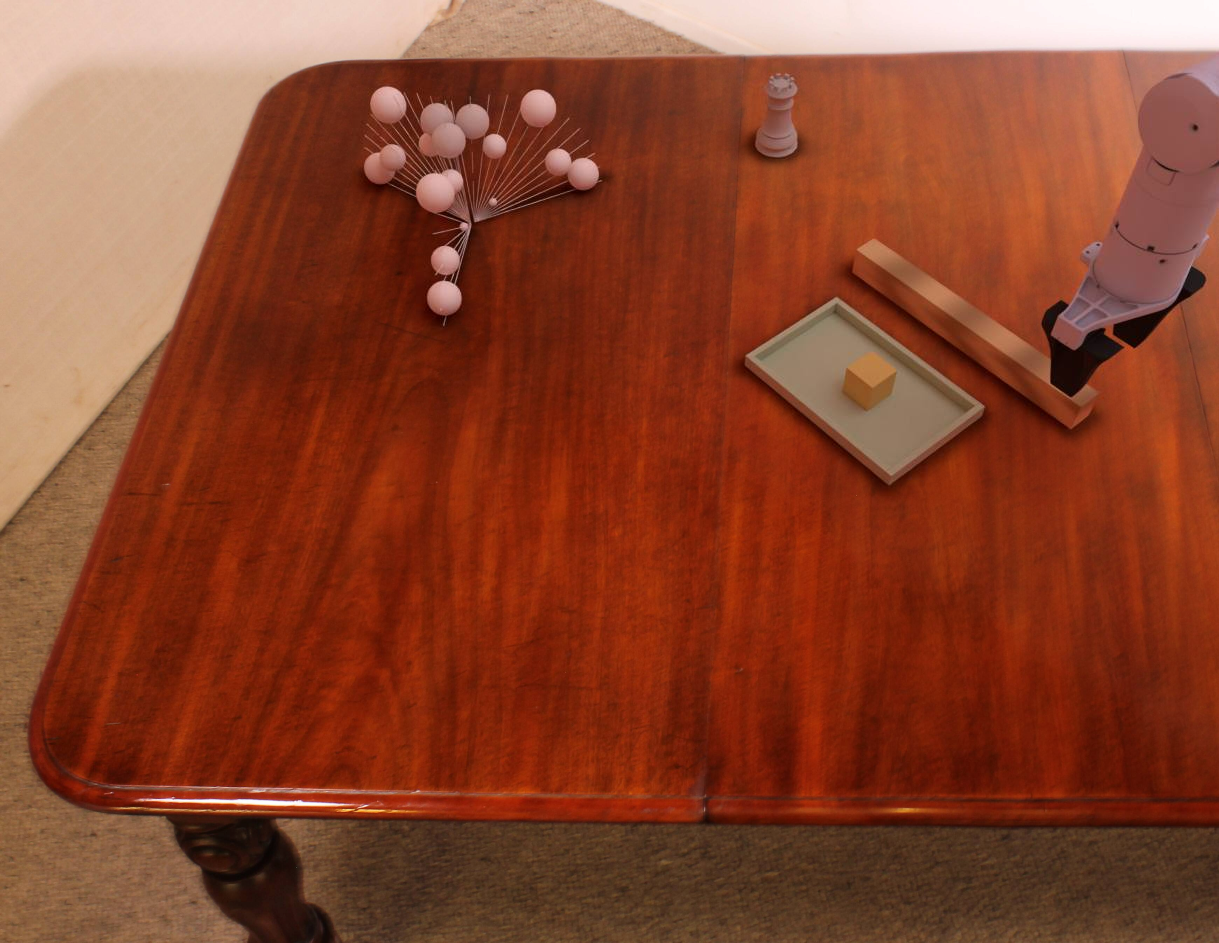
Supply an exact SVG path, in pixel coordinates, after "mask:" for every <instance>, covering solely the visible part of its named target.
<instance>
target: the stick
mask: <svg viewBox="0 0 1219 943" xmlns="http://www.w3.org/2000/svg"><path fill="white" fill-rule="evenodd" d="M853 258H854V259H853V266H852V270H851V273H852V274H854V275H855V276H856V277H858V278H859V279H860V280H862V281H863V282H865V283H866V284H867V285H869V286H870V287H872V288H873V289H874V290H876V291H877V292H879V293H880V294H881V295H883V296H884V297H885V298H887V299H888V300H890V301H891V302H892V303H894V304H895V305H897V306H898V307H899V308H901V309H902V310H904V311H905V312H906V313H908V314H909V315H911V316H912V317H913V318H915V319H916V320H917V321H919V322H921V323H922V324H924V325H925V326H926V327H927V328H929V329H930V330H931V331H933V332H934V333H935V334H937V335H938V336H940V337H941V338H942V339H944V340H945V341H947V342H948V343H950V344H951V345H952V346H954V347H955V348H957V349H958V350H959V351H961V352H962V353H964V354H965V355H967V356H968V357H969V358H971V359H972V360H973V361H975V362H977V364H978V365H980V366H982V367H983V368H984V369H986V370H987V371H989V372H990V373H992V374H993V375H995V377H997V378H998V379H1000V380H1001V381H1003V382H1004V383H1005V384H1007V385H1008V386H1009V387H1011V388H1012V389H1014V390H1015V391H1017V392H1018V393H1019V394H1021V395H1022V396H1024V397H1025V398H1026V399H1028V400H1029V401H1031V402H1032V403H1033V404H1035V405H1036V406H1037V407H1039V408H1040V409H1041V410H1043V411H1045V413H1047V414H1049V415H1050V416H1051V417H1053V418H1054V419H1055V420H1057V421H1058V422H1060V423H1061V424H1063V425H1064V426H1065V427H1067V428H1068V429H1069V430H1072V429H1074V427H1076V426H1077V425H1078V424H1080V423H1081V422H1082V421H1083V420H1084V419H1086V418H1087V417H1088V416H1089V415H1090V413H1091V411H1092V410H1093V407H1094V405H1095V403H1096V401H1097V399H1098V396H1099V395H1100V391H1098V390H1097V389H1095V388H1094V387H1092V386H1091V385H1089V384H1088V383H1086V385H1085V386H1084V387H1083V388H1082V389H1081V390H1080V391H1079V392H1078V393H1077V394H1075V395H1074V396H1073V397H1069V396H1067V395H1066V394H1065V393H1063V392H1062V391H1060V390H1059V389H1057V388H1056V387H1055V386H1053V385H1052V384H1050V367H1051V357H1050V358H1049V357H1048V356H1046V355H1045V354H1044V353H1042V352H1041V351H1039V350H1038V349H1037V348H1035V347H1034V346H1032V345H1031V344H1029V343H1028V342H1026V341H1025V340H1023V339H1022V338H1021V337H1019V336H1018V335H1016V334H1015V333H1014V332H1012V331H1010V330H1009V329H1007V328H1006V327H1005V326H1003V325H1001V324H1000V323H999V322H997V321H996V320H994V319H993V318H992V317H990V316H989V315H987V314H985V313H984V312H983V311H981V310H980V309H978V308H977V307H976V306H974V305H972V304H971V303H970V302H968V301H967V300H966V299H963V298H962V297H961V296H960V295H958V294H956V293H955V292H954V291H952V290H951V289H949V288H948V287H946V286H944V285H943V284H941V282H939V281H937V280H936V279H935V278H933V277H931V276H930V275H929V274H928V273H926V272H924V271H923V270H922V269H920V268H918V267H917V266H915V265H914V264H913V263H911V262H910V261H908V260H907V259H905V258H904V257H903V256H901V255H900V254H898V253H897V252H896V251H894V250H893V249H891V248H889V247H888V246H886V245H885V244H884V243H882V242H881V241H879V240H878V239H876V238H871V239H870V240H868V241H867V242H865V243H864V244H862V245H860V246H859V247H857V248H856V249H855V253H854V257H853Z"/></svg>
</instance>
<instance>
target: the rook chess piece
mask: <svg viewBox="0 0 1219 943" xmlns="http://www.w3.org/2000/svg"><path fill="white" fill-rule="evenodd" d="M768 79H769V80H768V83H766V84H765V86H764V91H765V94H766V95H767V96H768V97H767V98H766V100H765V104H766V106H767V110H766V115H765V119H764V121H763V122H762V123H761V126H760V127H759V128H758V129H757V131H756V135H755V138H756V139H755V143H754V146H755V148H756V150H757V151H758V152H759V153H760V154H762V155H763V156H766V157H768V158H772V159H773V158H776V159H779V158H786V157H788V156H789V155H791V154H792V153H794V152H795V150H796V149H797V148H798V132H797V130H796V128H795V125H794V123H793V121H792V107H793V105H794V99H793V97H794V96H795V95H796V94H797V92H798V86H797V85H796V83H795V78H794V76H792V77H790V74H788V73H784V76H783V77H782V74H781V73H780V72H779V73H775V76H773V75H771V76H770V77H769V78H768Z"/></svg>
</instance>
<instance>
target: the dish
mask: <svg viewBox="0 0 1219 943" xmlns="http://www.w3.org/2000/svg"><path fill="white" fill-rule="evenodd" d="M871 351H872V352H874V353H875V354H876V355H878V356H879V357H880V358H882V359H883V360H884V361H886V362H887V363H888V364H889V365H891V366H892V367H893V368H895V369H896V370H897V374H896V379H895V383H894V387H893V391H892V394H891V395H889V396H888V397H886V398H885V399H884V400H882V401H881V402H879V403H878V404H877V405H875V406H874V407H872V408H871V409H869V410H868V411H867V410H866V409H865V408H863V407H862V406H861V405H859V404H858V403H857V402H856V401H854V400H853V399H852V398H851V397H849V396H848V395H847V394H846V393H844V392H843V391H842V390H843V385H844V379H845V374H846V369H847V367H848V366H850V365H851V364H853V363H854V362H856V361H857V360H859V359H860V358H862V357H863V356H865V355H866V354H868V353H869V352H871ZM744 366H745V367H746V368H747V369H748V370H749V371H751V372H752V373H753V374H754V375H756V377H758V378H759V379H761V380H762V381H763V382H764V383H765V384H766V385H767V386H768V387H770V388H771V389H772V390H774V391H775V392H776V393H777V394H778V395H780V396H781V397H782V398H783V399H784V400H786V401H787V402H788V403H789V404H791V405H792V407H794V408H795V409H796V410H798V411H799V412H800V413H801V414H802V415H804V416H805V417H806V418H807V419H809V421H811V422H812V423H813V424H814V425H815V426H817V427H818V428H819V429H820V430H822V431H823V432H824V433H825V434H826V435H828V436H829V437H830V438H831V439H832V440H834V441H835V442H836V443H837V444H838V445H840V447H842V448H843V449H844V450H845V451H847V452H848V453H849V454H851V456H853V457H854V458H855V459H856V460H858V462H860V463H861V464H863V466H865V467H866V468H867V469H869V471H871V472H872V473H873V474H874V475H875V476H877V477H878V478H879V479H881V480H882V481H883V482H884V483H885V484H886V485H887V486H890V485H892V484H893V483H894V482H896V481H897V480H899V478H901V477H902V476H904V475H905V474H906V473H907V472H909V471H910V470H912V469H913V468H915V467H916V466H917V465H918V464H920V463H921V462H922V461H924V460H925V459H927V457H929V456H931V455H932V454H933V453H934V452H936V451H937V450H939V449H940V448H941V447H943V446H944V445H945V444H947V443H948V442H949V441H951V440H953V438H954V437H956V436H958V435H959V434H960V433H961V432H963V431H964V430H965V429H966V428H968V427H969V426H971V425H972V424H974V423H975V422H976V421H977V420H979V419H980V418H981V417H982V416H983V414H984V411H985V408H986V406H985V405H983V404H982V403H981V402H979V401H978V400H977V399H976V398H975V397H973V396H971V395H970V394H969V393H967V392H966V391H965V390H964V389H962V388H961V387H959V386H958V385H957V384H955V383H954V382H953V381H951V380H950V379H948V378H947V377H946V376H945V375H943V374H942V373H941V372H939V371H938V370H937V369H935V368H934V367H932V366H931V365H930V364H929V363H927V362H926V361H924V360H923V359H922V358H920V357H919V356H917V354H915V353H914V352H912V351H911V350H910V349H908V348H907V347H905V346H904V345H903V344H901V343H900V342H898V341H897V340H896V339H895V338H893V337H892V336H891V335H889V334H888V333H887V332H886V331H884V330H882V329H881V328H880V327H878V326H877V325H876V324H874V323H873V322H871V320H869V319H867V318H866V317H865V316H864V315H862V314H860V313H859V312H858V311H857V310H856V309H854V307H851V306H850V305H849V304H847V303H846V302H845V301H843V300H842V299H841V298H839V297H838V296H835V297H834V298H832V299H831V300H828V302H826V303H824V304H823V305H821V306H819V307H818V308H816V309H815V310H814V311H812V312H810V313H809V314H808V315H806V316H805V317H803V318H801V319H800V320H797V322H795V323H794V324H791V326H789V327H788V328H786V329H785V330H783V331H782V332H780V333H778V334H777V335H775V336H774V337H772V338H770V339H769V340H767V341H766V342H764V343H763V344H761V345H759V346H758V347H756V348H754V349H753V350H752V351H750V352H749V353H747V354H745V357H744Z"/></svg>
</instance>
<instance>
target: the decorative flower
mask: <svg viewBox="0 0 1219 943" xmlns="http://www.w3.org/2000/svg"><path fill="white" fill-rule="evenodd" d="M403 94H404V95H403ZM416 95H417V98H418V101H419V103H420V106H421V108H422V112H421V114H420V120H419V118H418V117H417V114H416V113H415V111H414V109H413V107H412V105H411V103H410V101H409V99H408V97H407V94H406V93H405V92H403V93H402V92H401V91H400V90H399V89H397V88H395V87H392V86H381V87H380V88H378V89H377V90H375V91H374V92H373V94H372V96H371V98H370V101H369V102H370V103H369V104H370V105H369V106H370V111H371V114H372V115H371V117H372V118H373V119H374V120H375V121H376V122H377V123H378V124H379V125H380V126H382V124H381V123H383V124H388V125H390V126H391V127H392V128H393V129H394V130H395V131H396V133H397V134H398V135H399V136H400V137H401V139H402V140H403V142H404V143H405V144H406V145H407V147H408V148H409V149H410V150H411V152H412V153H413V154H414V155H415V157H416V158H417V159H418V161H419V162H420V163H421V164H422V165H423V167H424V168H425V169H426V170H427V172H428V173H427V174H425V175H424V176H423V175H422V174H420V173H419V172H418V171H417V170H416V169H415V168H414V167H413V166H412V165H411V164H410V163H409V162H407V156H408V157H409V158H410V160H411V161H414V159H413V158H412V157H411V155H409V154H408V153H407V151H405V150H404V148H403V147H402V146H401V145H400V144H399V143H398V142H397V140H396V139H393V140H394V141H395V143H396V144H393V143H392V144H389V143H388V142H387V141H386V140H385V139H384V138H383V137H381V139H382V141H383V142H384V143H386V144H387V145H385V146H383V147H382V148H381V147H380V145H378V144H376V143H375V141H373V140H372V139H370V138H369V137H368V136H367V135H366V134H364V137H366V138H367V139H368V140H370V141H371V142H372V143H373V144H374V145H376V146H377V147H378V148H379V149H380V152H372V151H371V150H370V149H368V148H367V147H364V149H366V150H367V151H368V152H370V153H371V154H369V156H368V157H367V158H366V159H365V161H364V163H363V164H364V165H363V170H364V174H365V176H366V177H367V179H368V180H369V181H370V182H372V183H374V184H377V185H385V184H388V185H390V186H393V187H394V188H396V189H398V190H400V191H403V192H405V193H406V194H409V195H411V196H412V197H415V198H416V200H417V202H418V204H419V205H420V207H421V208H423V209H424V210H426V211H427V212H430V213H432V214H435V215H439V216H441V217H444V218H447V219H451V220H453V221H456V222H459V223H460V224H459V227H456V228H452V229H449V230H447V229H446V230H443V231H438V232H433V233H432V235H436V234H440V233H445V232H449V231H453V230H458V229H460V230H461V232H460V233H458V234H457V235H456V236H455V237H454V238H453V239H451V240H450V241H449V242H447V243H446V244H445V245H442V246H438V247H437V248H436V249H435V250H434V251H433V252H432V254H431V256H430V264H431V266H432V269H433V270H434V271H435V272H436V273H435V276H437V274H440V275H442V276H445V277H444V279H443V280H440V281H437V282H435V283H433V284H432V285H431V287H430V288H429V289H428V291H427V296H426V299H427V300H426V301H427V305H428V307H429V308H430V309H431V311H433V312H434V313H435V314H437V315H440V316H445V318H444V321H443V324H442V326H444V327H445V323H446V320H447V317H448V316H451V315H452V314H453V315H454V313H456V312H457V311H458V310H459V309H460V306H461V305H462V300H463V299H462V293H461V290H460V288H459V287H458V286H457V284H456V283H457V279H458V275H459V272H460V268H461V265H462V260H463V257H464V255H465V254H464V253H465V250H466V247H467V243H468V240H469V235H470V232H471V229H472V221H471V216H470V212H469V207H468V202H467V196H466V192H465V186H464V179H463V178H464V177H463V176H462V172H461V166H460V162H459V156H460V155H461V160H462V165H463V170H464V171H466V168H465V163H464V158H463V152H464V150H465V148H466V142H467V141H466V139H469V140H470V141H471V142H470V143H473V140H477V139H479V138H482V137H483V142H482V151H481V157H484V156H483V154H485V156H487V157H488V158H490V160H489V164H488V167H487V172H486V175H485V178H484V179H485V180H484V183H483V188H482V191H481V194H480V199H479V202H475V209H476V211H474V208H471V212H472V216H473V222H474V223H477V222H480V221H483V220H486V219H489V218H492V217H496V216H499V215H502V214H504V213H508V212H511V211H515V210H517V209H520V208H524V207H526V206H529V205H533V204H535V203H538V202H542V201H545V200H548V199H551V198H554V197H557V196H561V195H563V194H566V193H570V192H572V191H576V190H579V191H587V190H590V189H592V188H593V187H595V186H596V184H597V183H599V182H602V181H603V180H599V178H600V177H599V176H600V175H599V174H600V173H599V168H601V166H597V164H596V163H595V162H594V161H592V160H591V159H589V157H592V156H593V155H595V154H596V152H594V153H592V154H591V155H588V156H587V157H580V158H576V159H575V160H573V161H572V158H571V156H570V155H571V154H572V153H573V152H575V151H577V150H578V149H579V148H581V147H582V146H584V145H585V144H586V143H587V142H589V141H590V140H589V139H587V140H586V141H585V142H583V143H582V144H581V145H580V146H578V147H577V148H575V149H574V150H573V151H571V152H567V151H566V150H565V149H562V148H560V147H561V146H562V145H563V144H564V143H566V142H567V141H568V140H569V139H571V137H572V136H574V135H575V134H576V133H577V132H578V131H579V130H580V129H581V128H580V127H579V128H578V129H577V130H576V131H574V133H573V134H572V135H570V136H569V137H568V138H567V139H566V140H565V141H563V143H561V144H560V145H559V146H558V147H556V148H554V149H552V150H549V151H548V153H547V154H546V155H545V158H544V160H542V161H541V162H540V163H539V164H538V165H537V166H536V167H534V168H533V169H532V170H531V171H530V172H529V173H527V175H525V176H524V177H523V178H522V179H520V180H519V182H518V183H516V184H515V185H514V186H513V187H512V188H511V189H509V191H507V193H505V194H504V195H503V196H502V197H500V196H501V195H502V194H503V193H504V191H505V190H506V189H507V187H504V189H503V190H502V191H501V192H500V193H499V194H498V195H497V197H500V199H498V201H497V198H496V197H495V195H496V194H497V192H498V191H499V189H500V188H502V185H503V184H504V183H505V181H506V180H507V179H508V177H509V176H510V174H511V173H512V172H513V170H514V169H515V167H516V166H517V165H518V163H520V161H521V160H522V158H523V156H524V155H525V153H526V152H527V151H528V150H529V148H530V147H531V146H532V144H533V143H534V141H535V140H536V139H537V137H538V136H539V134H540V133H541V132H542V130H543V129H544V127H547V126H548V125H550V124H551V123H552V122H553V120H554V119H555V117H556V114H557V104H556V101H555V98H554V97H553V96H552V94H551V93H549V92H547V91H546V90H543V89H534V90H530V91H528V92H527V93H526V94H525V95H524V96H523V98H522V100H521V101H520V107H519V108H520V109H519V111H518V113H517V115H516V118H515V121H514V124H513V126H512V128H511V130H510V132H509V136H508V138H507V141H506V140H505V138H504V137H502V136H501V135H499V131H500V128H501V124H502V120H503V117H504V112H505V108H506V104H507V102H508V101H507V100H508V97H509V94H507V95H506V98H505V103H504V107H503V111H502V114H501V117H500V118H501V119H500V122H499V126H498V129H497V133H491V134H489V135H487V136H486V133H487V131H488V130H489V127H490V117H489V112H488V111H489V106H487V108H486V109H487V110H486V109H484V108H483V107H482V106H480V105H479V104H475V103H472V101H471V100H472V99H471V96H469V104H465V105H464V106H462V107H461V108H460V109H459V110H458V111H457V113H456V116H455V111H454V106H453V101H452V100H450V103H451V108H452V109H450V108H449V105H448V104H447V102H446V101H444V104H443V103H440V102H435V103H433V99H432V96H431V95H429V98H430V102H431V104H428V105H427V106H425V107H423V104H422V102H421V99H420V97H419V95H418V93H416ZM488 97H490V94H488ZM405 98H406V99H407V101H406V99H405ZM407 102H408V105H409V106H410V108H411V111H412V112H413V114H414V116H415V118H416V120H417V122H418V124H419V126H420V128H421V130H422V132H423V134H422V135H421V136H419V135H418V133H417V131H416V129H415V128H414V127H413V125H412V122H410V120H409V118H408V117H407V115H406V112H407ZM489 103H490V98H488V101H487V105H489ZM451 110H452V111H451ZM520 114H521V117H522V119H523V120H524V121H525V123H527V124H528V125H527V127H526V129H525V131H524V132H523V134H522V136H521V138H520V139H519V142H518V143H517V145H516V147H515V149H514V151H513V152H512V154H511V155H510V158H509V159H508V160H507V163H506V164H505V166H504V168H503V169H502V172H501V173H500V176H499V177H498V179H497V181H496V182H495V184H494V186H493V187H492V190H491V191H490V193H489V195H488V196H487V194H488V191H489V188H490V186H491V183H492V181H493V179H494V176H495V175H496V172H497V169H498V166H499V165H500V161H501V159H502V157H503V156H504V155H505V154H506V151H507V145H508V142H509V141H510V140H509V139H510V137H511V135H512V132H513V129H514V127H515V125H516V123H517V120H518V118H519V116H520ZM404 116H405V118H406V119H407V121H408V123H409V125H410V126H411V128H412V129H413V131H414V133H415V134H416V136H417V138H418V146H417V144H416V143H415V141H414V140H413V138H412V137H411V136H410V134H409V133H408V131H407V130H406V128H405V127H404V125H403V124H402V123H401V120H402V119H403V118H404ZM568 120H570V117H568V118H567V120H565V121H564V123H563V124H561V126H560V127H559V128H558V129H557V131H556V132H554V134H552V136H551V137H550V138H549V139H548V140H547V142H546V143H545V144H544V145H542V147H541V148H540V149H539V150H538V151H537V153H535V154H534V156H533V157H532V158H531V159H530V160H529V161H528V162H527V164H526V165H525V166H523V168H522V169H520V171H519V172H518V173H517V175H515V177H514V178H513V179H512V180H510V182H509V183H508V184H507V186H509V185H510V184H512V183H513V181H514V179H516V178H517V177H518V175H520V173H522V171H523V170H524V169H525V168H526V167H527V165H528V164H530V162H531V161H532V160H533V159H534V158H535V157H536V156H537V155H538V153H540V151H541V150H542V149H543V148H544V147H545V146H546V145H547V143H548V142H549V141H550V140H551V139H552V138H553V137H554V136H555V135H556V134H557V133H558V131H559V130H560V129H561V128H562V127H563V126H564V125H565V124H566V123H567V122H568ZM395 123H399V124H400V126H401V127H402V129H403V130H404V131H405V133H407V135H408V137H409V138H410V140H411V141H412V143H413V144H414V145H415V147H416V148H417V150H418V151H419V152H420V154H421V155H422V157H423V159H424V160H425V161H426V162H427V164H428V165H429V167H430V168H431V169H432V172H433V173H432V172H431V171H429V169H428V168H427V167H426V165H425V164H424V163H423V161H421V159H420V158H419V156H418V155H417V154H416V152H414V150H413V149H412V148H411V147H410V145H409V144H408V143H407V141H406V140H405V139H404V138H403V136H401V134H400V133H399V131H398V130H397V129H396V128H395V127H394V125H393V124H395ZM366 125H367V126H368V127H369V128H370V129H371V130H373V132H374V133H375V134H376V135H378V132H376V131H375V130H374V129H373V128H372V127H371V126H370V124H368V123H366ZM529 126H531V127H535V128H541V129H540V130H539V132H538V133H537V134H536V136H535V137H534V139H533V140H532V141H531V143H530V144H529V146H528V147H527V148H526V149H525V152H523V154H522V155H521V157H520V158H519V159H518V161H517V163H516V164H515V165H514V167H513V168H512V169H511V171H509V173H508V174H507V176H506V178H505V179H504V180H503V182H501V184H500V186H499V187H498V188H497V190H496V191H495V193H494V194H493V195H492V197H491V194H492V193H493V191H494V189H495V188H496V186H497V183H498V182H499V180H500V178H501V176H502V174H504V172H505V169H506V168H507V167H508V164H509V163H510V160H511V159H512V157H513V155H514V153H515V151H516V150H517V148H518V146H519V144H520V142H521V141H522V139H523V137H524V136H525V134H526V132H527V130H528V128H529ZM382 129H383V130H384V131H385V132H386V133H387V134H388V135H389V136H390V138H393V136H392V135H391V134H390V133H389V132H388V131H387V130H386V129H385V128H384V127H382ZM406 155H407V156H406ZM473 155H474V154H473V153H471V166H472V167H471V168H472V172H474V159H473V158H474V156H473ZM426 157H429V158H430V159H431V161H432V163H433V164H434V166H435V168H436V170H434V168H433V167H432V166H431V164H430V163H429V161H428V160H427V159H426ZM432 157H436V160H437V161H438V163H439V166H440V167H441V169H442V172H440V170H439V168H438V167H437V165H436V163H435V162H434V160H433V158H432ZM438 157H439V158H438ZM439 159H440V160H439ZM445 159H447V160H448V162H449V166H450V168H448V165H447V163H446V161H445ZM451 159H453V161H454V165H455V169H454V167H453V164H452V161H451ZM455 159H456V160H455ZM492 159H493V160H497V159H499V160H498V163H497V165H496V167H495V170H494V173H493V175H492V178H491V180H490V183H489V184H488V187H487V190H486V192H485V195H484V197H483V193H484V189H485V184H486V181H487V178H488V174H489V169H490V167H491V162H492ZM440 161H441V162H440ZM482 162H483V159H481V160H480V166H482V165H483V163H482ZM406 163H407V165H408V166H409V167H411V168H412V169H413V170H414V171H415V172H416V173H417V174H418V175H419V176H420V177H421V178H419V179H418V178H417V177H416V176H415V175H414V174H413V173H411V172H410V171H409V170H407V168H405V167H404V166H405V164H406ZM441 163H442V164H441ZM543 163H544V166H545V168H546V170H545V171H543V172H542V173H541V174H539V175H538V176H536V177H535V178H533V179H532V180H531V181H529V182H528V183H526V184H525V185H523V186H522V187H521V188H519V189H518V190H517V191H515V192H513V194H511V195H510V196H508V197H506V198H505V199H504V200H503V201H501V202H500V200H502V199H503V198H504V197H505V196H506V195H507V194H509V192H511V191H512V190H513V189H514V188H516V187H517V186H518V184H521V182H523V180H524V179H525V178H527V176H529V175H530V174H531V173H532V172H534V170H535V169H536V168H538V167H539V166H540V165H542V164H543ZM414 164H416V166H417V167H418V168H419V169H420V170H421V172H422V173H425V171H424V170H423V169H422V168H421V167H420V166H419V164H418V163H416V162H414ZM401 169H404V170H406V171H407V172H408V174H411V175H412V177H414V178H415V179H417V181H418V182H417V183H416V182H415V181H413V180H411V179H410V178H409V177H407V176H406V175H405V174H403V173H402V172H400V170H401ZM479 170H480V171H479V174H481V173H482V167H480V169H479ZM396 172H398V173H399V174H401V175H402V176H404V177H405V178H406V179H408V180H409V181H410V182H412V183H413V184H415V185H416V189H415V188H414V187H412V186H410V185H408V184H406V183H405V182H404V181H402V180H400V179H398V178H397V177H395V174H396ZM547 172H548V173H549V174H550V175H553V176H552V177H550V178H548V179H546V180H545V181H543V182H542V183H540V184H538V185H536V186H534V187H532V188H531V189H529V190H527V191H526V192H524V193H522V194H520V195H519V196H517V197H515V198H514V199H512V200H510V201H508V202H507V203H505V204H503V205H501V204H502V203H504V202H505V201H507V200H508V199H509V198H511V197H512V196H514V195H515V194H516V193H518V192H519V191H521V190H522V189H523V188H525V187H527V186H528V185H529V184H530V183H532V182H533V181H535V180H536V179H537V178H538V177H539V178H540V176H541V175H543V174H545V173H547ZM466 173H467V172H464V174H465V175H464V176H465V180H466V186H467V190H468V195H469V202H470V205H471V206H470V207H473V204H472V200H471V193H470V189H469V184H468V178H467V174H466ZM566 174H567V180H566V181H563V182H561V183H558V184H556V185H554V186H552V187H550V188H548V189H545V190H543V191H540V192H538V193H537V194H534V195H533V196H529V197H527V198H525V199H523V200H520V201H518V202H516V203H514V204H511V205H509V206H506V205H508V204H509V203H511V202H513V201H515V200H516V199H518V198H520V197H522V196H524V195H525V194H527V193H529V192H531V191H532V190H534V189H535V188H537V187H540V186H541V185H543V184H544V183H546V182H548V181H550V180H551V179H553V178H555V177H562V176H564V175H566ZM393 178H394V179H396V180H398V181H399V182H400V183H402V184H404V185H405V186H407V187H410V188H411V189H412V190H414V191H415V195H414V194H413V193H410V192H408V191H406V190H403V188H399V187H397V186H395V185H393V184H391V183H390V181H392V179H393ZM480 180H481V176H479V178H478V183H480ZM567 182H569V184H570V185H571V186H572V187H573V189H571V190H568V191H565V192H561V193H560V194H555V195H553V196H549V197H546V198H543V199H540V200H537V201H534V202H531V203H528V204H524V205H521V206H519V207H516V208H513V209H509V210H506V209H508V208H511V207H512V206H515V205H517V204H519V203H521V202H524V201H527V200H528V199H531V198H532V197H533V198H534V197H535V196H537V195H540V194H542V193H545V192H547V191H549V190H551V189H553V188H555V187H558V186H560V185H562V184H565V183H567ZM474 186H475V185H474V182H472V196H473V198H472V199H473V201H475V189H474ZM479 191H480V185H478V187H477V192H479ZM461 192H462V194H461ZM462 195H463V196H462ZM486 196H487V198H486ZM482 197H483V199H482ZM490 197H491V198H490ZM478 198H479V193H477V195H476V200H478ZM485 198H486V201H485ZM481 200H482V203H481ZM488 200H489V201H488ZM487 202H488V203H487ZM498 202H500V203H499V204H498ZM483 203H484V204H483ZM486 203H487V204H486ZM480 204H481V205H480ZM498 206H499V207H498ZM504 206H506V207H505V208H503V209H500V208H502V207H504ZM489 207H490V208H489ZM499 209H500V210H499ZM497 210H498V211H497ZM503 210H506V211H503ZM502 211H503V212H502ZM442 212H447V213H449V214H450V215H452V216H455V217H457V218H460V220H459V219H455V218H453V217H449V216H446V215H442V214H440V213H442ZM499 212H500V213H499ZM461 219H462V220H464V221H465V222H463V221H461ZM462 233H464V234H463V235H462V237H461V238H460V240H459V241H458V242H457V244H455V246H454V247H451V246H448V245H449V244H450V243H452V242H453V241H454V240H455V239H456V238H458V237H459V236H460V235H461V234H462ZM462 239H463V240H462ZM461 241H462V242H461ZM460 242H461V245H460V246H459V248H458V250H456V248H457V246H458V245H459V244H460ZM462 245H463V246H462ZM461 247H462V249H461ZM460 250H461V252H460V254H459V251H460ZM460 258H461V259H460ZM457 270H458V271H457ZM456 271H457V274H456V278H455V281H454V283H453V282H452V280H453V278H454V275H455V272H456ZM449 275H452V276H451V278H450V281H447V280H446V278H447V276H449Z"/></svg>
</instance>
